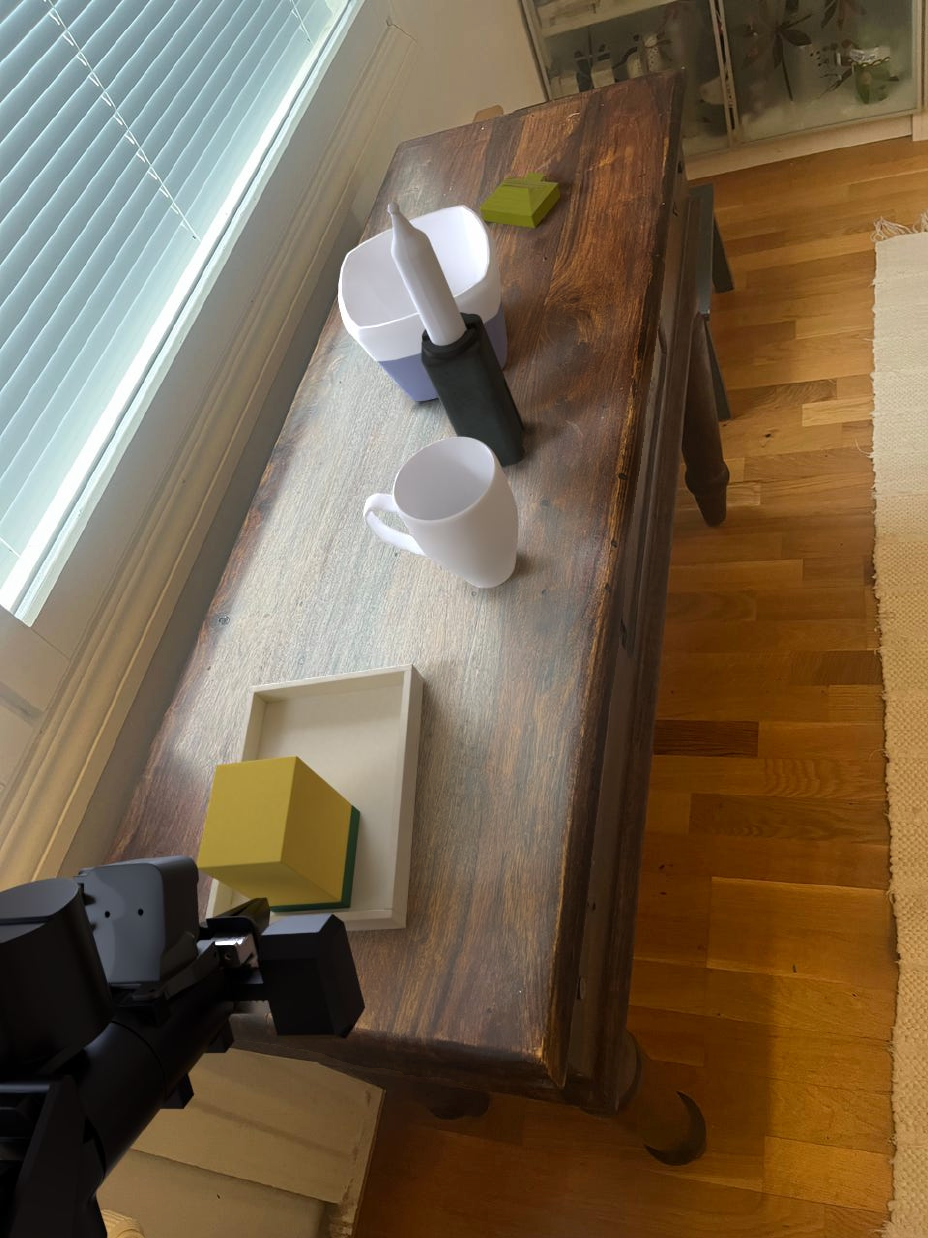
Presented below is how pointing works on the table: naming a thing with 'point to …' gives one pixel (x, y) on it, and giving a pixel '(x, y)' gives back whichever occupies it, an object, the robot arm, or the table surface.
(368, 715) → the tray
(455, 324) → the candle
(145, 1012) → the robot arm
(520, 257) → the table surface
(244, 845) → the block
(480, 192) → the table surface
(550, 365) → the table surface
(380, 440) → the table surface
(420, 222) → the bowl
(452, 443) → the mug
